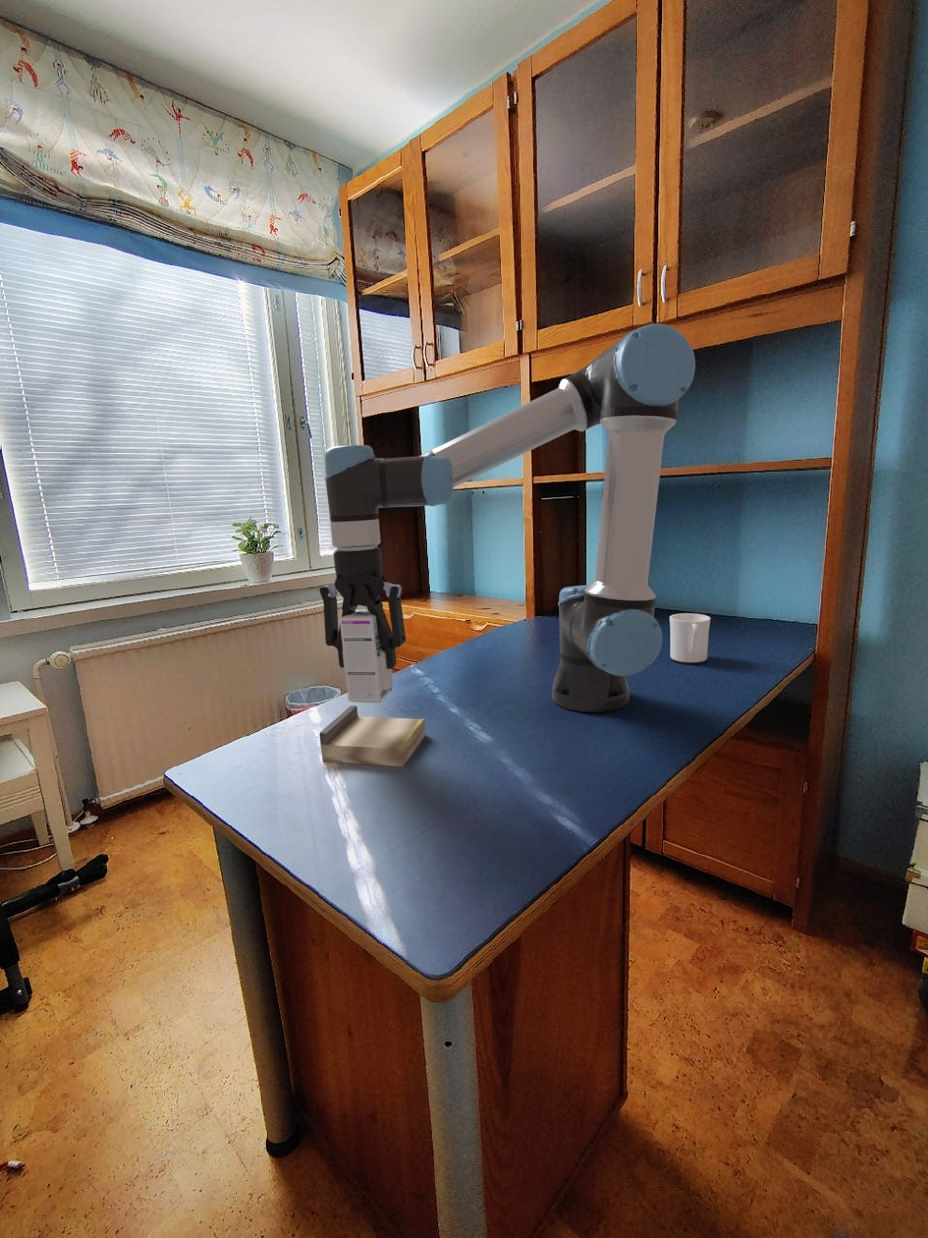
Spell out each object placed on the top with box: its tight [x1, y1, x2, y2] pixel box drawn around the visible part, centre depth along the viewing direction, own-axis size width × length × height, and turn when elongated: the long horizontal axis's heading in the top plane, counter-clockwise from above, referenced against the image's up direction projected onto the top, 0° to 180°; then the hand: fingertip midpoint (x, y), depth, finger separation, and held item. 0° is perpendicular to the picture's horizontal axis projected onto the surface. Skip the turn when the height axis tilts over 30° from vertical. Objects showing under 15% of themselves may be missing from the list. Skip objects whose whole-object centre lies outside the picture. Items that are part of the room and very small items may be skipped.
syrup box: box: [339, 608, 393, 704], centre depth 94 cm, size 6×6×14 cm
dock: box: [319, 705, 427, 768], centre depth 98 cm, size 14×12×5 cm
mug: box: [669, 612, 711, 666], centre depth 134 cm, size 11×9×10 cm
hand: (369, 686), depth 96 cm, fingers closed on syrup box, 6 cm apart
